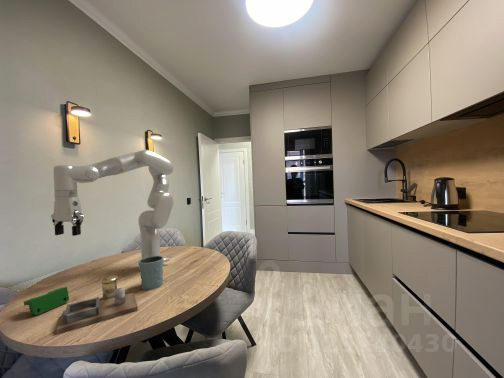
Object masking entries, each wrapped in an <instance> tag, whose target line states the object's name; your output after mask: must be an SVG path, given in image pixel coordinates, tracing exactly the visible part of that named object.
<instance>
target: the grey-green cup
mask: <svg viewBox="0 0 504 378" xmlns="http://www.w3.org/2000/svg"><path fill="white" fill-rule="evenodd" d="M163 258H164V256H162V255H160V256H150V257H145V258H143V259H142V258H141V259H139V260H138V270H139V269H140V270H139V272H140V273H139V274H140V275H139V276H140V280H141V281H140V283H141V288H142V289H143V290H146V291H150V290H155V289H158V288H161V286H162V285H163V284H164V282H163V281H164V279H163V277H164V276H163V275H164V269H163V268H164V266H163Z"/></svg>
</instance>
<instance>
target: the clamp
mask: <svg viewBox="0 0 504 378" xmlns="http://www.w3.org/2000/svg"><path fill="white" fill-rule="evenodd" d="M69 300H70V294H69V289H68V286H65V287H60V288H56V289H53V290H51V291H48V292H47V293H45V294H43V295H39V296H36V297H32V298H29V299H27V300H25V301H24V300H23V306H24V307H25V306H28V308H29V314H30V316H39V315H41V314H44V313H46V312H48V311H50V310H53V309H54V308H57V307H59V306H62V305H64V304H66V303H68V302H69Z"/></svg>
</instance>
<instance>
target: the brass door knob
mask: <svg viewBox="0 0 504 378" xmlns="http://www.w3.org/2000/svg"><path fill="white" fill-rule="evenodd" d="M118 280H119V276H118V275H116V274H115V275H109V276H104V277H103V278H101V279H100V284H101V289H102V291H101V292H102V293H101V294H102V301H103V300H107V299H111V298H115V290H116V289H118Z"/></svg>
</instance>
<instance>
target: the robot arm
mask: <svg viewBox="0 0 504 378" xmlns="http://www.w3.org/2000/svg"><path fill="white" fill-rule="evenodd" d="M143 167H148V171H149V173H150V174H149V175H150V176H151V177H152V180H153V183H152V187H151V190H150V193H149V195H148V198H147V206H148V207H149V208H150V209H153V210H144V211H143V212H141V213H140V214H139V216H138V227H139V231H140V232H139V233H140V249H141V251H140V252H141V253H140V254H141V255H140V256H141V259H143V258H145V257H150V256H161V239H160V236H161V235H160V230H161V229H163V228H164V227H165V226H166V225H167V223H168V221H169V218H170V215H171V212H172V209H173V206H174V198H173V196H172V194H171V193H169V192H168V190H169V187H170V182H169V178H168V176H169V175H171V174H172V173H173V171H174V165H173V163H172V161H171V160H169V159H168V158H166V157H164V156H161V155H159V154H158V153H156V152H154V151H152V150H149V149H143V150H138V151H134V152H130V153H126V154H123V155H118V156H114V157H111V158H107V159H104V160H102V161H99V162H95V163H92V164H86V165H77V166H76V165H74V166H73V165H67V164H61V165H55V166H54V167H53V186H54V187H53V188H54V193H53V194H54V201H53V202H54V203H53V214H51V215H50V218H51V220H52V221H51V222H52V223H53V226H54V236H60V235H64V234H65V229H64V228H65V226H64V222H67V223H68V222H69V223H71V224H72V226H71V235H72V236H73V237H75V236H79V235H80V236H81V234H82V230H81V229H82V228H81V227H82V224H83V222H84V217H85V214H83V213H82V207H81V202H80V198H79V197H78V183H79V184H87V183H89V184H90V183H94V182H96V181H97V180H98V179H102V178H105V177H110V176H117V175H121V174H124V173H127V172H128V173H129V172H131V171H134V170H138V169H140V168H143ZM165 262H166V263H167V262H170V257H163V267H165V266H164V263H165ZM138 271H140V269H139V268H138Z"/></svg>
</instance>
